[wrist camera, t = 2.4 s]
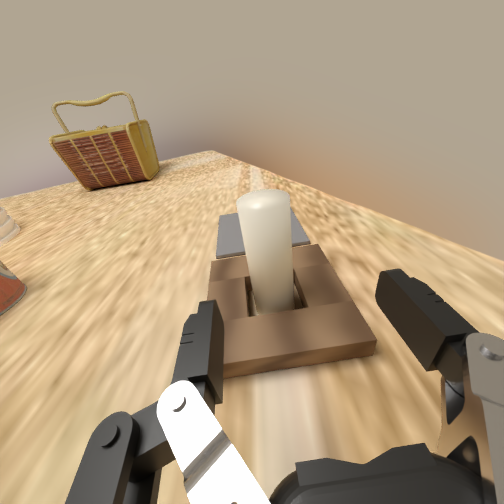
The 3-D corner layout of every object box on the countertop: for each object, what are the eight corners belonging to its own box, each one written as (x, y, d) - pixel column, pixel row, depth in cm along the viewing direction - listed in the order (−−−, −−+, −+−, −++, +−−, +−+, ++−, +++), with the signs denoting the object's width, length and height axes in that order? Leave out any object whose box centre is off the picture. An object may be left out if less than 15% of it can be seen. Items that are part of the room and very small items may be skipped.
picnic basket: (166, 167, 107) (140, 91, 90) (152, 183, 86) (115, 87, 69) (106, 177, 106) (68, 103, 89) (77, 196, 85) (20, 103, 68)
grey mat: (216, 258, 38) (215, 256, 37) (220, 218, 51) (219, 215, 51) (309, 243, 38) (309, 240, 37) (289, 206, 51) (288, 204, 50)
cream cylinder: (258, 323, 26) (236, 214, 18) (254, 294, 30) (235, 193, 22) (298, 317, 26) (295, 204, 18) (289, 288, 30) (283, 186, 22)
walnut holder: (206, 380, 21) (199, 367, 20) (215, 273, 34) (211, 261, 33) (372, 355, 21) (376, 339, 20) (317, 257, 34) (317, 244, 33)
